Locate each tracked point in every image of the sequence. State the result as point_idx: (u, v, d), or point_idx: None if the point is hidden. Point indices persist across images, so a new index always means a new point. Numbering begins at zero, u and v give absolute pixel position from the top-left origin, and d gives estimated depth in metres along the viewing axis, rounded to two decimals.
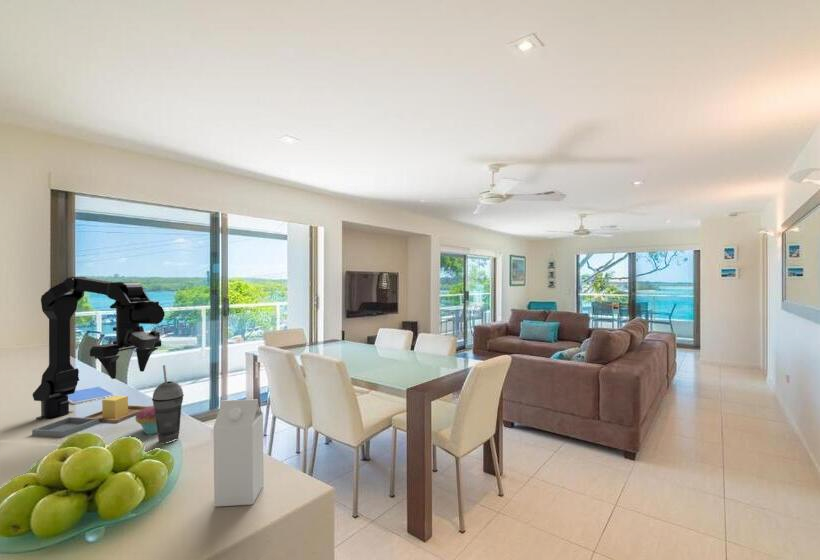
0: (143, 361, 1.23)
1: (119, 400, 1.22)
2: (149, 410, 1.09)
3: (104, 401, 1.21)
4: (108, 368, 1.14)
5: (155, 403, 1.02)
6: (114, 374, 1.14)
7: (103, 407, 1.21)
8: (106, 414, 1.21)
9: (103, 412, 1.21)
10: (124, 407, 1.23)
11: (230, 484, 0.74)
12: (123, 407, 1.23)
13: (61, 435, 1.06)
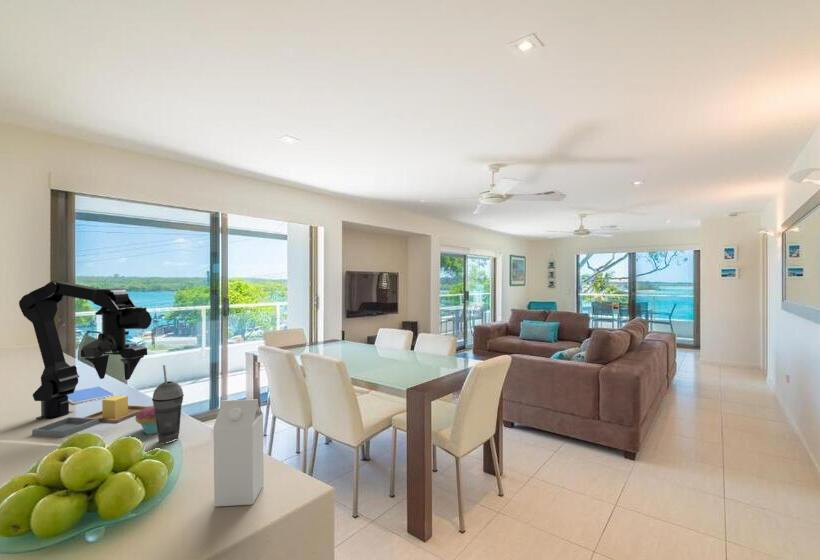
0: None
1: (119, 400, 1.22)
2: (149, 410, 1.09)
3: (104, 401, 1.21)
4: None
5: (155, 403, 1.02)
6: (98, 374, 1.23)
7: (103, 407, 1.21)
8: (106, 414, 1.21)
9: (103, 412, 1.21)
10: (124, 407, 1.23)
11: (230, 484, 0.74)
12: (123, 407, 1.23)
13: (61, 435, 1.06)
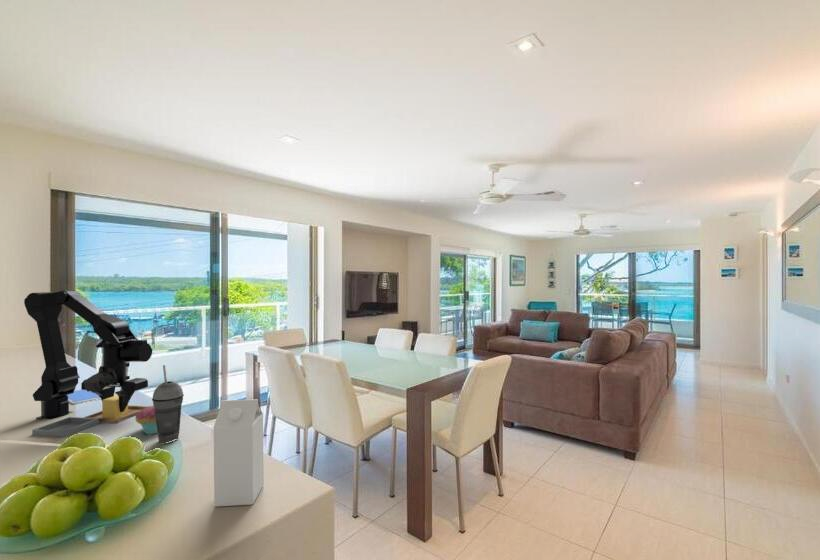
0: None
1: None
2: (149, 410, 1.09)
3: (104, 401, 1.21)
4: None
5: (155, 403, 1.02)
6: None
7: (103, 407, 1.21)
8: (106, 414, 1.21)
9: (103, 412, 1.21)
10: None
11: (230, 484, 0.74)
12: None
13: (61, 435, 1.06)
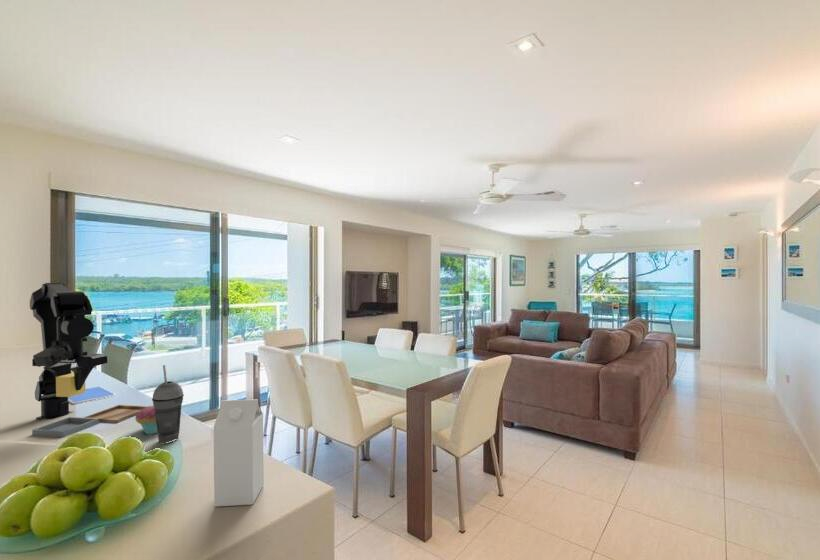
0: None
1: None
2: (149, 410, 1.09)
3: (58, 378, 1.11)
4: None
5: (155, 403, 1.02)
6: None
7: (57, 385, 1.11)
8: (60, 392, 1.11)
9: (57, 391, 1.11)
10: None
11: (230, 484, 0.74)
12: None
13: (61, 435, 1.06)
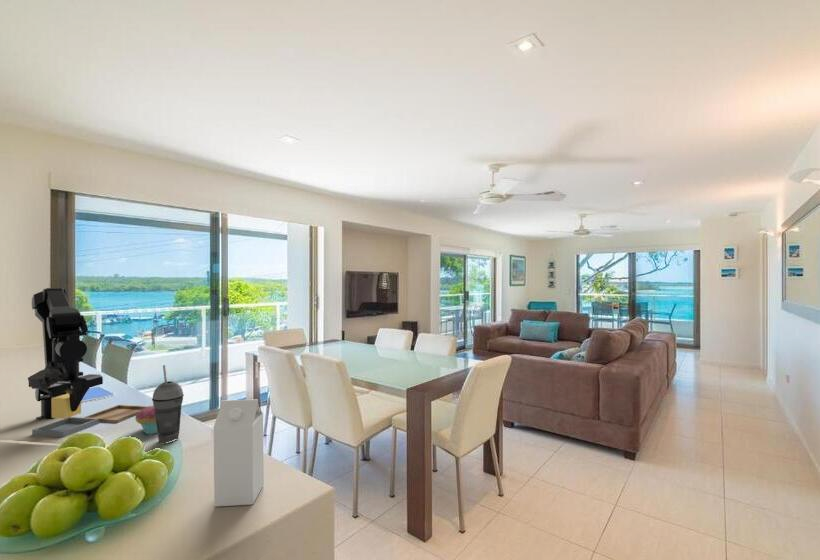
0: None
1: None
2: (149, 410, 1.09)
3: (53, 399, 1.10)
4: None
5: (155, 403, 1.02)
6: None
7: (52, 406, 1.10)
8: (55, 414, 1.10)
9: (52, 412, 1.10)
10: None
11: (230, 484, 0.74)
12: None
13: (61, 435, 1.06)
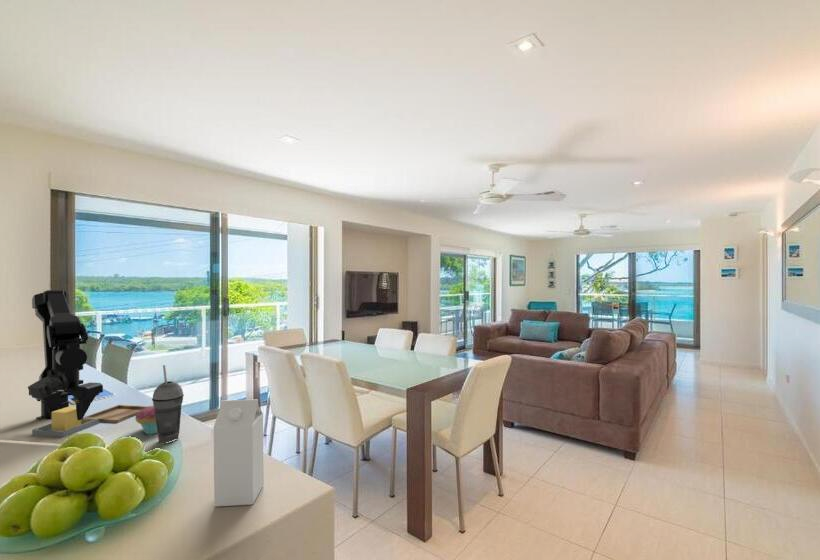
0: None
1: (70, 412, 1.11)
2: (149, 410, 1.09)
3: (53, 413, 1.10)
4: None
5: (155, 403, 1.02)
6: (49, 414, 1.12)
7: (52, 420, 1.10)
8: (56, 427, 1.10)
9: (53, 426, 1.10)
10: (77, 419, 1.13)
11: (230, 484, 0.74)
12: (76, 419, 1.13)
13: (61, 435, 1.06)
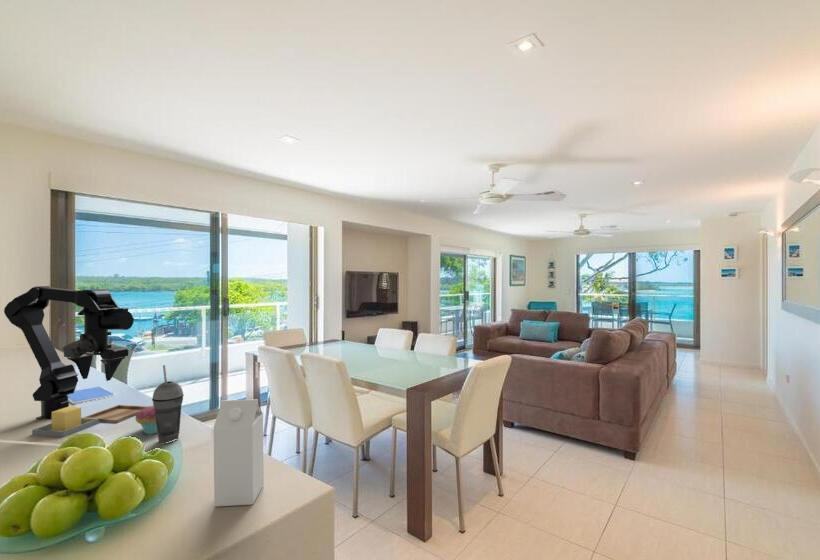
0: None
1: (70, 412, 1.11)
2: (149, 410, 1.09)
3: (53, 413, 1.10)
4: None
5: (155, 403, 1.02)
6: (81, 375, 1.23)
7: (52, 420, 1.10)
8: (56, 427, 1.10)
9: (53, 426, 1.10)
10: (77, 419, 1.13)
11: (230, 484, 0.74)
12: (76, 419, 1.13)
13: (61, 435, 1.06)
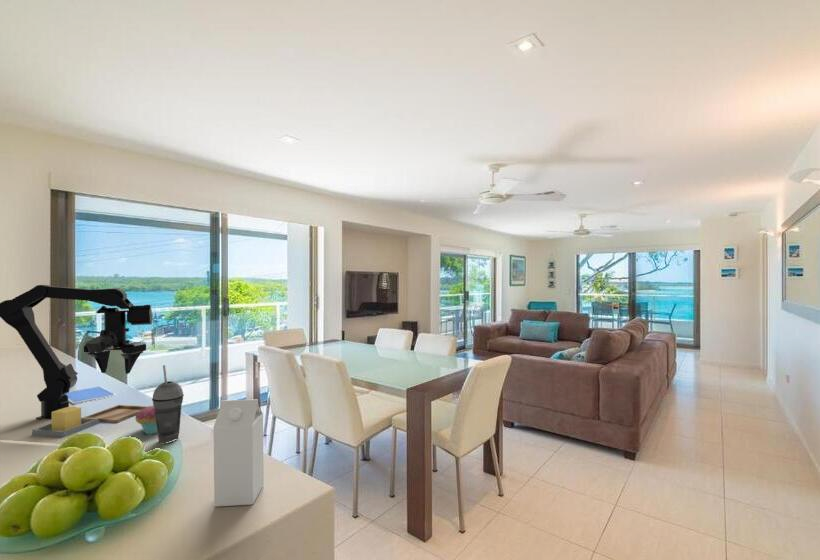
0: None
1: (70, 412, 1.11)
2: (149, 410, 1.09)
3: (53, 413, 1.10)
4: None
5: (155, 403, 1.02)
6: (100, 369, 1.31)
7: (52, 420, 1.10)
8: (56, 427, 1.10)
9: (53, 426, 1.10)
10: (77, 419, 1.13)
11: (230, 484, 0.74)
12: (76, 419, 1.13)
13: (61, 435, 1.06)
